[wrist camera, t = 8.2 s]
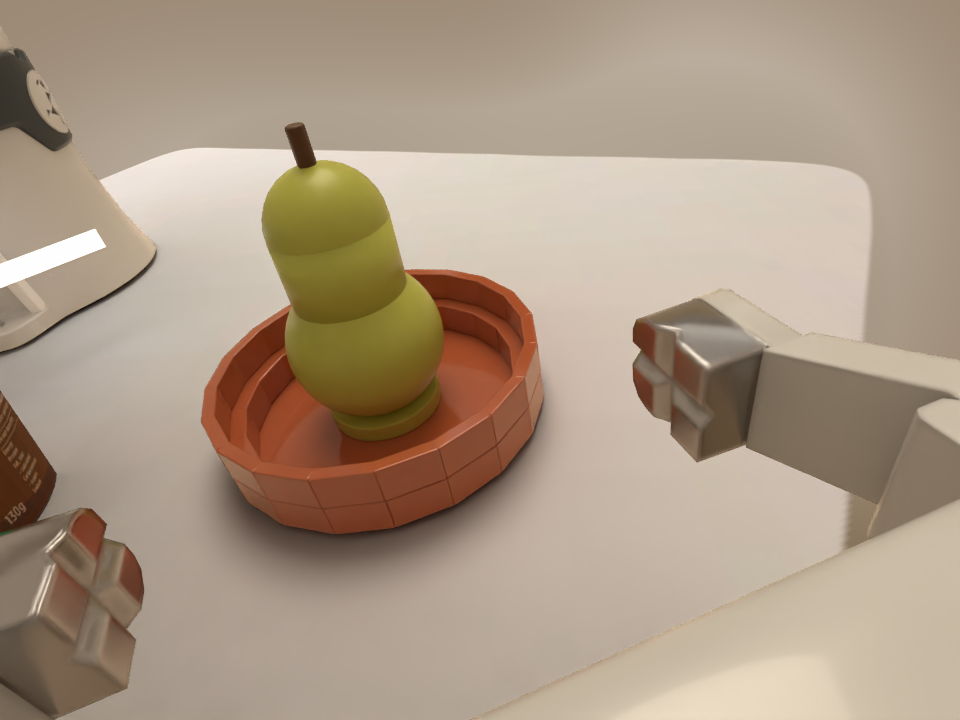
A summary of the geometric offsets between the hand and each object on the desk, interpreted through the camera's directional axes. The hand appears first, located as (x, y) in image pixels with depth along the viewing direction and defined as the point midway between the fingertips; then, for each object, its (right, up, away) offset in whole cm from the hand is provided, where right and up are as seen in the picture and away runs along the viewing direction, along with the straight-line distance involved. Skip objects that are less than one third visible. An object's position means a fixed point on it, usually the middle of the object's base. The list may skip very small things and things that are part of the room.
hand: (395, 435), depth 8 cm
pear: (-3, -1, +15) cm, 16 cm away
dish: (-3, -1, +15) cm, 16 cm away
